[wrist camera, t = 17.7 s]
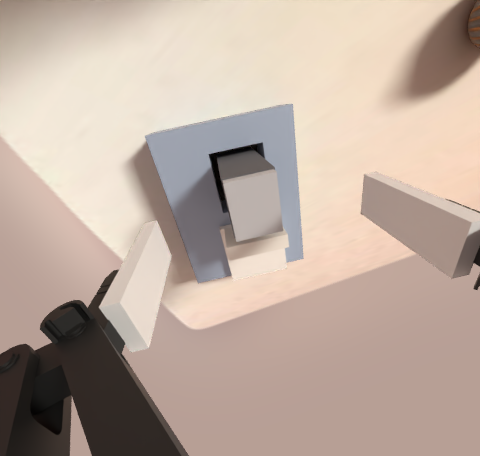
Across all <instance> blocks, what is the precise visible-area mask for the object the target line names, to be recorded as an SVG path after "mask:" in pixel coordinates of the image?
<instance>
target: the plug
mask: <svg viewBox="0 0 480 456" xmlns="http://www.w3.org/2000/svg"><path fill="white" fill-rule="evenodd" d="M216 156H217V162H218V167H219V173H220V178H221V183H222V187H223V191H224V196H225V200H226V204H227V208H228V213H229V217H230V221H231V225H232V230H233V234H234V238H236V242H238V241H242V240H247V239H251V238H255V237H260V236H264V235H268V234H273V233H277V232H281V231H283V223H282V215H281V206H280V197H279V188H278V179H277V171H275V167H274V166H273V165H272V164H270V163H269V162H268V161H267V160H266V159H264V158H263V157H262V156H261V155H260V154H258V153H257V152H256V151H255V150H254V149H252V148H251V147H250V146H249V147H244V148H240V149H235V150H231V151H226V152H222V153H217V154H216Z"/></svg>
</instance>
